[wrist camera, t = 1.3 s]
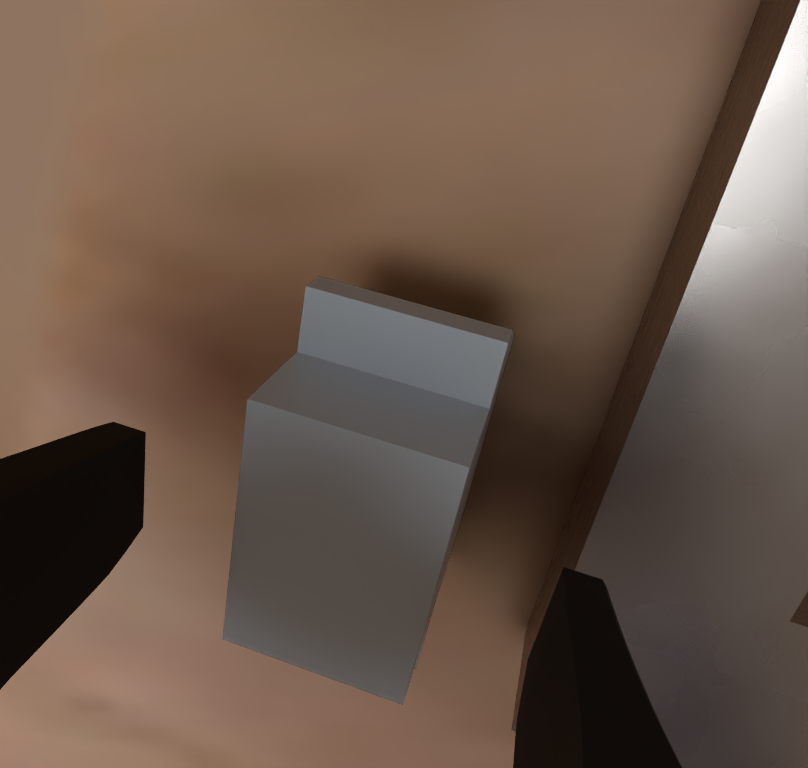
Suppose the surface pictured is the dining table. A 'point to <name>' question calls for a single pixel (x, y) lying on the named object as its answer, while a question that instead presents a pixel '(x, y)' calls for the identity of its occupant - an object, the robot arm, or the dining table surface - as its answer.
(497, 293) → the dining table surface
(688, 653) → the chassis
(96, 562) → the robot arm
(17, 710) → the dining table surface
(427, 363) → the block
